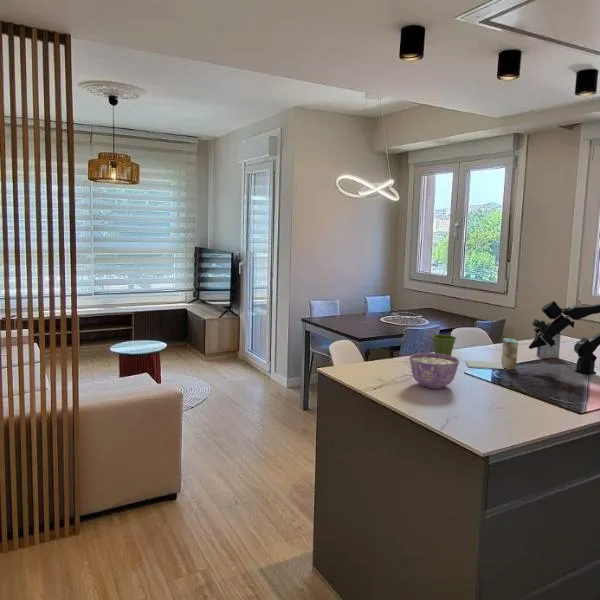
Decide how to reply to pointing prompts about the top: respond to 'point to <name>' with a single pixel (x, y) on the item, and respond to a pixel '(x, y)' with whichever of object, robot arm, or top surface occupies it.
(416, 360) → the bowl of food
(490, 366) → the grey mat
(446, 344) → the plant pot
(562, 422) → the top surface
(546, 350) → the ink cartridge box
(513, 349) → the oak block
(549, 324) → the robot arm
